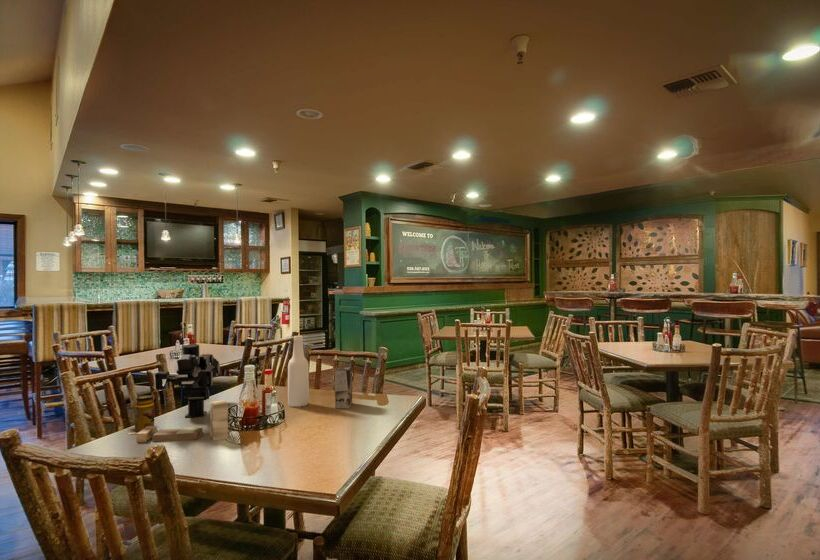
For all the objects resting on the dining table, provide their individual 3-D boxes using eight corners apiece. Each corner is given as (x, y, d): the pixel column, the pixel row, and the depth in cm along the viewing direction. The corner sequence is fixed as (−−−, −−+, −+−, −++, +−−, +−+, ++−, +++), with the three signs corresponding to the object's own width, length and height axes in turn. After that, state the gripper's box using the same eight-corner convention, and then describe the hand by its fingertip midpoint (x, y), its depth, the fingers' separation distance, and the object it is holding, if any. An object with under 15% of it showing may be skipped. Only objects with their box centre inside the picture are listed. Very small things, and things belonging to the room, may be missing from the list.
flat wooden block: (160, 435, 153) (160, 428, 153) (202, 433, 155) (202, 427, 155) (152, 441, 147) (152, 434, 147) (196, 439, 149) (196, 432, 149)
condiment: (155, 430, 158) (156, 397, 159) (127, 435, 154) (128, 400, 154) (154, 425, 164) (154, 393, 165) (127, 429, 160) (127, 396, 160)
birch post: (210, 437, 151) (210, 402, 151) (224, 434, 154) (224, 399, 154) (213, 440, 148) (213, 404, 148) (227, 437, 150) (227, 402, 151)
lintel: (147, 434, 155) (147, 426, 155) (156, 434, 155) (156, 425, 155) (136, 442, 147) (136, 433, 147) (146, 442, 147) (146, 433, 147)
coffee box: (349, 408, 187) (349, 370, 187) (334, 408, 187) (334, 370, 187) (352, 403, 196) (352, 366, 196) (338, 403, 196) (338, 366, 196)
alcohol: (306, 401, 199) (306, 334, 199) (310, 406, 191) (310, 336, 191) (286, 403, 195) (286, 335, 196) (289, 408, 187) (289, 337, 188)
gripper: (162, 353, 166) (147, 365, 150) (215, 351, 170) (206, 363, 154) (163, 382, 167) (148, 397, 151) (216, 380, 171) (207, 394, 156)
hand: (177, 387), depth 153 cm, fingers open, 9 cm apart
